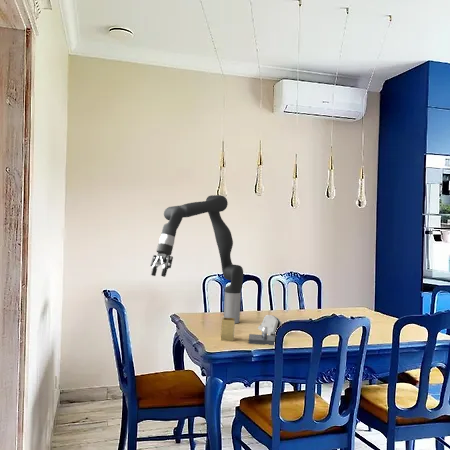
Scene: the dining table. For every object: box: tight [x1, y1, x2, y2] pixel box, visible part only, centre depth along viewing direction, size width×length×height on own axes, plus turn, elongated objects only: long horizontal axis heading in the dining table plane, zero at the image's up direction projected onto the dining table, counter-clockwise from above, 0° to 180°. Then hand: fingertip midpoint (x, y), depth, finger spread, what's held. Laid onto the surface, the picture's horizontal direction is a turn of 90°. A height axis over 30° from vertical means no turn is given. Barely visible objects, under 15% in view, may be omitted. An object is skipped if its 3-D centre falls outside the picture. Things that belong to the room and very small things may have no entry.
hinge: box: [257, 314, 283, 335], centre depth 253 cm, size 17×5×10 cm, turn 18°
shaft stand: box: [248, 327, 276, 346], centre depth 231 cm, size 11×15×7 cm
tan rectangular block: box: [220, 316, 236, 342], centre depth 233 cm, size 6×6×10 cm
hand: (158, 275), depth 234 cm, fingers open, 8 cm apart
